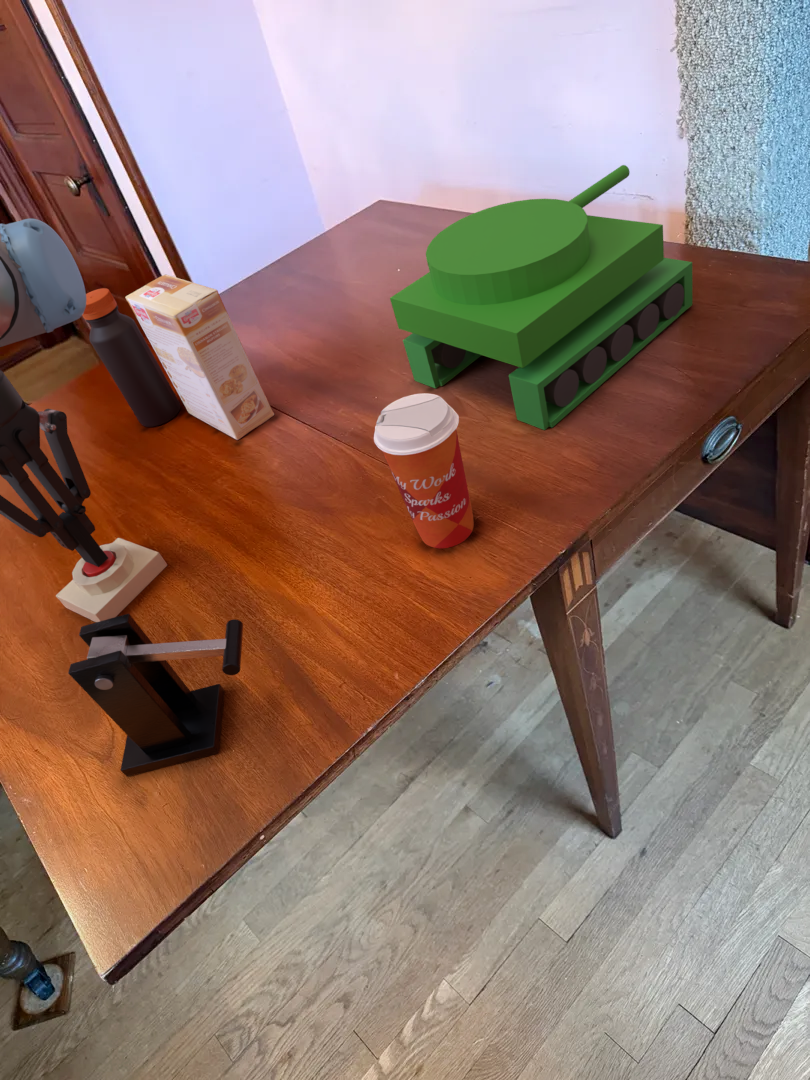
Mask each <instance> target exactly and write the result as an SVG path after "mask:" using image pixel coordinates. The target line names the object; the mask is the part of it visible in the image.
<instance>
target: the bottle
mask: <svg viewBox="0 0 810 1080" xmlns="http://www.w3.org/2000/svg"><path fill="white" fill-rule="evenodd" d="M118 309H119V305H118V304H117V301H116V299H115V298H114V296H113V295H112V293H111V291H110V289H109V288H106V287H102V288H98V289H94V290H92V291H89V292H86V307H85V310H84V313H83V315H82V316H81V317H82V318H83V319H84V320H85V322H86V323H88V324H90V326H91V328H90V331H89V337H88V339H89V342H90V344H91V345H92V347H93V349H94V350H95V352H96V354H97V355H98V358H99V359H100V360H101V362H102V363H103V366H104V367H105V369H106V370H107V372H108V373H109V375H110V377H111V378H112V380H113V382H114V383H115V385H116V386H117V388H118V390H119V391H120V393H121V395H122V396H123V397H124V399H125V401H126V403H127V404H128V406H129V408H130V409H131V411H132V412H133V414H134V415H135V418H136V419H137V421H138V422H139V423H140V424H141V425H142V426H143V427H146V428H154V427H159V426H161V425H164V424H165V423H168V422H169V421H171V420H173V418H175V417H176V416H177V415H178V414H179V412H180V410H181V403H180V400H179V399H178V397H177V395H176V393H175V392H174V389H173V388H172V386H171V383H170V382H169V380H168V378H167V377H166V375H165V374H164V372H163V370H162V368H161V366H160V364H159V362H158V361H157V359H156V357H155V355H154V354H153V352H152V350H151V348H150V346H149V345H148V342H147V341H146V339H145V337H144V336H143V334H142V333H141V331H140V329H139V327H138V325H137V323H136V320H134V319H133V318H132V317H131V316H128V315H126V314H123V313H120V311H119V310H118Z"/></svg>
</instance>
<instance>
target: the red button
mask: <svg viewBox="0 0 810 1080" xmlns="http://www.w3.org/2000/svg"><path fill="white" fill-rule="evenodd" d="M104 553H105V554H106V555H107V557H108V559H107V560H106V561H105V562H104V563H103V564H102V565H101V566H100V567H97V566H95V565H93V564H90V563H88V562H85V564H84V566H83V570H84V572H85V573H86V574H87V576H88V577H94V576H98V575H100V574H102V573H104V572H106V571H107V570H108V569H109V568H110V567H111V566H112V565H113V564H114V562H115V560H116V558H115V556H114V555H113V554H112V553H111V552H110V551H104Z"/></svg>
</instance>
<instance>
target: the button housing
mask: <svg viewBox="0 0 810 1080" xmlns="http://www.w3.org/2000/svg"><path fill="white" fill-rule="evenodd" d="M99 546H100V548H101V549H102V550H103V551H110V552H111V553H112V554H113V555H114V556H115V558H116V560H115V562H114V564H113V565H112V566H111V567H110V568H109V569H108V570H107V571H106V572H104V573H102V574H100V575H98V576H94V577H88V576H87V574H86V573H85V572H84V570H83V566H84V564H85V561H84V559H83V558H82V557H81V558H80V559H79V560H78V561H77V562H76V564H75V566H74V568H73V570H72V572H71V575H72V580H70V582H68V583H67V584H66V585H65V586H63V588H62V589H61V590H60V591H59V592H58V593H56V595H55V597H56V598H57V600H59V601H60V603H61V604H62V605H63V607H65V608H66V609H67V610H70V611H72V612H73V613H76V614H77V615H80V616H82V617H84V618H86V619H87V620H91V621H93V623H96V622H100V621H103V620H107V619H111V618H114V617H118V615H119V614H120V613H122V611H123V610H125V608H127V606H129V604H131V603H132V601H134V599H135V598H137V596H138V595H139V594H141V592H143V590H145V589H146V587H147V586H148V585H150V584H151V582H152V581H153V580H155V578H156V577H157V576H158V575H160V574H161V573H162V572H163V571H164V570H165V569H166V567H168V564H167V562H166V561H165V559H164V558H163V556H162V554H161V553H160V552H159V551H156V550H153V549H151V548H148V547H145V546H142V545H140V544H137V543H134V542H132V541H129V540H127V539H124V538H122V537H117V538H116V539H114V540H113V542H111V543H104V544H101V545H99Z"/></svg>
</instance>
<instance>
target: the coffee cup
mask: <svg viewBox="0 0 810 1080" xmlns="http://www.w3.org/2000/svg"><path fill="white" fill-rule="evenodd" d="M459 422H460V416H459V414H458V413H457V412H456V411H455V409H454V408H453V407H452V406H451V405H449V404H448V403H447V401H446V400H445V398H443V397H442V396H441V395H439V394H434V393H427V392H425V393H424V392H423V393H422V392H421V393H414V394H411V395H406V396H403V397H401V398H398V399H396V400H394V401H392V402H391V403H389V404H388V405H386V406H385V407H384V408H383V409H382V410H381V411H380V414H379V415H378V417H377V420H376V423H375V426H374V433H373V442H374V444H375V445H376V447H377V448H378V449H379V450H380V451H382V454H383V457H384V458H385V461H386V463H387V466H388V467H389V470H390V472H391V475H392V477H393V479H394V481H395V484H396V486H397V488H398V490H399V493H400V496H401V498H402V499H403V502H404V504H405V507H406V508H407V511H408V513H409V516H410V518H411V520H412V522H413V524H414V527H415V530H416V531H417V533H418V535H419V537H420V539H421V540H422V542H423V543H424V544H425V545H426V546H428V547H431V548H434V549H448V548H453V547H455V546H458V545H460V544H462V543H463V542H465V541H466V540H467V539H468V538H469V537H470V535H471V534H472V533H473V530H474V525H475V524H474V523H475V521H474V514H473V509H472V503H471V497H470V493H469V487H468V482H467V476H466V472H465V467H464V462H463V457H462V451H461V446H460V441H459V437H458V432H457V428H458V426H459Z"/></svg>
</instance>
